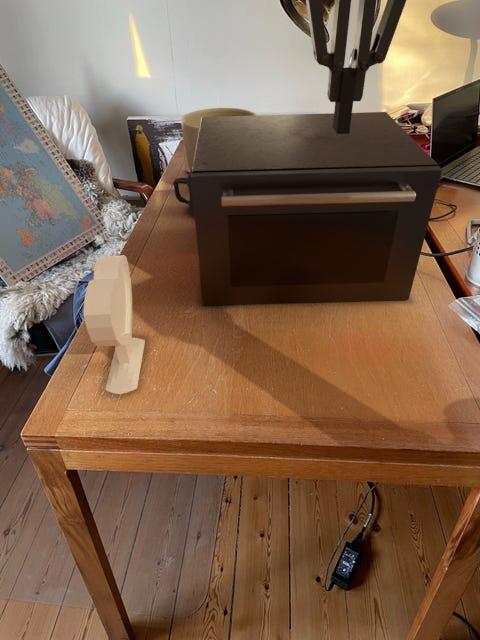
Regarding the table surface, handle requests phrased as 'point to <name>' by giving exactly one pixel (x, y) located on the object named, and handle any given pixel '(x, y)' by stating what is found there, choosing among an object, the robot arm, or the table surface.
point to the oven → (304, 144)
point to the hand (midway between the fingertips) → (340, 130)
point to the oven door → (311, 233)
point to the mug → (189, 185)
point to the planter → (193, 126)
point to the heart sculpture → (114, 321)
